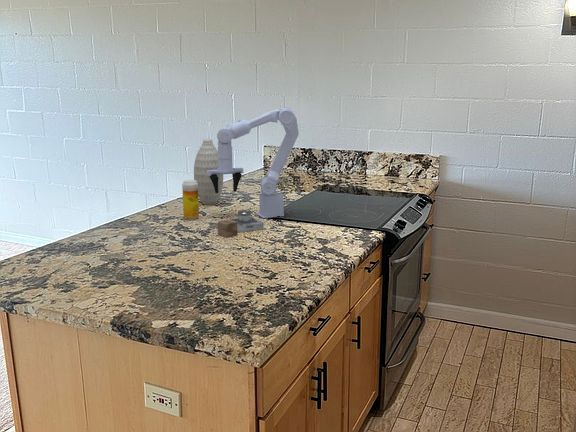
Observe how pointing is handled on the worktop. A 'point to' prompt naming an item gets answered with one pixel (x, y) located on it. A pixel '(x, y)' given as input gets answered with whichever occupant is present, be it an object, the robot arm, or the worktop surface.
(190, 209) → the beer can
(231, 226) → the walnut block
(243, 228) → the frame
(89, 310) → the worktop surface
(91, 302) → the worktop surface
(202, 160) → the vase
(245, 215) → the grooved metal cylinder
